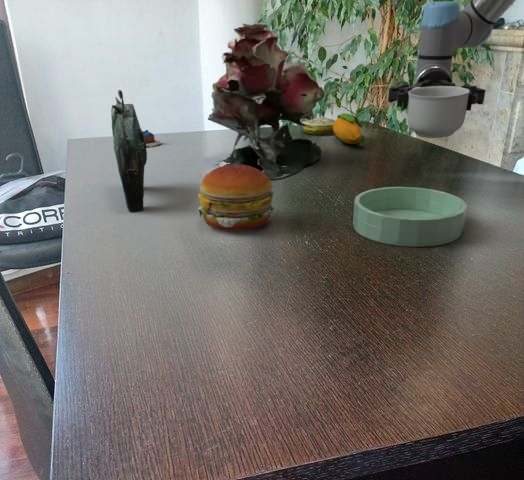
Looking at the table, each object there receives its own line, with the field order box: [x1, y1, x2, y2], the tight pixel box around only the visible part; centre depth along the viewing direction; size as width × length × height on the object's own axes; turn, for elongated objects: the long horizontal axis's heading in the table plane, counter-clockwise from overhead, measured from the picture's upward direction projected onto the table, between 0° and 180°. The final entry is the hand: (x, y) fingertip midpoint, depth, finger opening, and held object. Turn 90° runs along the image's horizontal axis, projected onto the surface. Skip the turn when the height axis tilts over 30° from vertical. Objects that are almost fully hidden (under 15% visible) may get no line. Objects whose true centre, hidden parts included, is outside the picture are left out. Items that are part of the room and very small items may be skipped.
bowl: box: [352, 186, 468, 248], centre depth 98 cm, size 19×19×4 cm
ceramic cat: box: [110, 89, 148, 213], centre depth 111 cm, size 20×6×20 cm, turn 12°
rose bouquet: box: [207, 22, 326, 180], centre depth 133 cm, size 26×29×30 cm
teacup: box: [407, 86, 470, 139], centre depth 107 cm, size 14×11×8 cm
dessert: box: [142, 129, 162, 148], centre depth 159 cm, size 8×7×6 cm
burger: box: [197, 165, 275, 231], centre depth 100 cm, size 14×14×10 cm
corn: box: [332, 112, 366, 147], centre depth 155 cm, size 7×8×20 cm
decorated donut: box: [301, 117, 336, 136], centre depth 171 cm, size 10×11×4 cm
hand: (437, 101), depth 104 cm, fingers closed on teacup, 11 cm apart
